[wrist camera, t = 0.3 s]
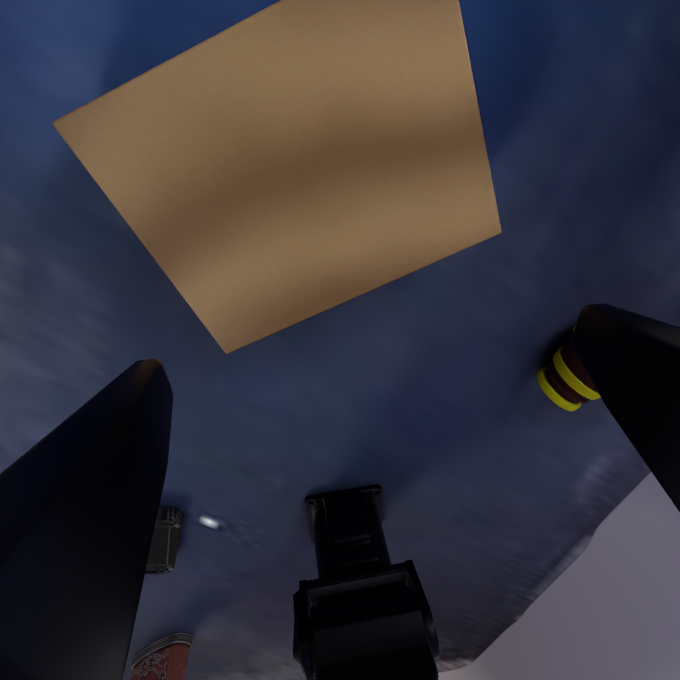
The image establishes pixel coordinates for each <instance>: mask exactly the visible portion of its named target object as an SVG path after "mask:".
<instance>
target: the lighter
mask: <svg viewBox="0 0 680 680" xmlns="http://www.w3.org/2000/svg"><path fill="white" fill-rule="evenodd" d="M191 643H192V636H191V635H189V634H187V633H174V634H171V635H169V636H166V637H164V638H162V639H160V640H158V641H156V642H154V643H152V644H150V645H149V646H147V647H146V648H145V649H143V650H142V651H140V652H139V653H138V654H137V655H136V656H135V657H134V659H133V663H132V670H133V673H132V678H131V680H185V677H186V669H187V661H188V652H189V649H190V648H191Z"/></svg>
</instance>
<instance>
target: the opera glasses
mask: <svg viewBox="0 0 680 680" xmlns="http://www.w3.org/2000/svg"><path fill="white" fill-rule="evenodd" d="M575 326H576V325H575ZM575 326H574V327H573V332H574V329H575ZM537 381H538V383H539V385H540V387H541V388H542V390H543V391H544V392H545V394H546V395H547V396H548V397H549V398H550V399H551V400H552V401H553V402H554V403H556V404H557V405H558V406H560V407H561V408H563V409H565V410H568V411H574V410H576V409H578V408H579V407H580V406H581V403H587V402H588V401H589V400H590V399H592V400H595V399H598V398H601V397H600V395H599V393H598V391H597V389H596V388H595V386H594V384H593V382H592V380H591V379H590V377H589V375H588V373H587V371H586V369H585V368H584V366H583V364H582V362H581V360H580V358H579V357H578V355H577V353H576V351H575V349H574V347H573V344H572V338H571V339H570V341H569V342H568V343H567V344H566V346H565V347H560V348H559V349H558V351H557V352H556V353H555V354H554V356H553V361H550V362H549V363H548V367H543V368H542V369H540V370H539V371H538V372H537Z"/></svg>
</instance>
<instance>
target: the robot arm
mask: <svg viewBox="0 0 680 680" xmlns="http://www.w3.org/2000/svg"><path fill="white" fill-rule="evenodd" d="M572 344H573V347H574V349H575V351H576V353H577V355H578V357H579V358H580V360H581V362H582V364H583V366H584V368H585V369H586V371H587V373H588V375H589V377H590V379H591V380H592V382H593V384H594V386H595V388H596V389H597V391H598V393H599V395H600V397H601V398H602V400H603V402H604V403H605V405H606V406H607V408H608V409H609V411H610V413H611V414H612V415H613V417H614V418H615V420H616V421H617V423H618V424H619V425H620V427H621V428H622V430H623V431H624V433H625V434H626V436H627V437H628V438H629V440H630V441H631V443H632V444H633V446H634V447H635V448H636V450H637V451H638V453H639V454H640V456H641V457H642V459H643V460H644V461H645V463H646V464H647V466H648V467H649V469H650V470H651V471H652V473H653V474H654V475H655V477H656V479H657V480H658V482H659V483H660V484H661V486H662V487H663V489H664V490H665V492H666V493H667V494H668V496H669V497H670V499H671V500H672V502H673V503H674V505H675V506H676V507H677V509H678V510H679V512H680V327H676V326H673V325H670V324H667V323H664V322H661V321H658V320H655V319H652V318H648V317H645V316H642V315H639V314H636V313H633V312H630V311H627V310H624V309H621V308H617V307H614V306H611V305H608V304H602V303H601V304H593V305H587V306H585V307H583V308H582V310H581V311H580V314H579V317H578V320H577V323H576V326H575V329H574V332H573V335H572ZM172 406H173V393H172V389H171V386H170V383H169V381H168V378H167V375H166V373H165V370H164V368H163V365H162V363H161V362H160V360H158V359H147V360H139V361H136V362H135V363H134V364H132V365H131V366H130V367H129V368H128V369H126V370H125V371H124V372H123V373H122V374H120V375H119V376H118V377H117V378H116V379H114V380H113V381H112V382H111V383H110V384H108V385H107V386H106V387H105V388H103V389H102V390H101V391H100V392H99V393H97V394H96V395H95V396H94V397H93V398H91V399H90V400H89V401H88V402H87V403H85V404H84V405H83V406H82V407H81V408H79V409H78V410H77V411H76V412H75V413H73V414H72V415H71V416H70V417H69V418H67V419H66V420H65V421H64V422H62V423H61V424H60V425H59V426H58V427H56V428H55V429H54V430H53V431H52V432H50V433H49V434H48V435H47V436H46V437H44V438H43V439H42V440H41V441H40V442H38V443H37V444H36V445H35V446H33V447H32V448H31V449H30V450H29V451H27V452H26V453H25V454H24V455H23V456H21V457H20V458H19V459H18V460H17V461H15V462H14V463H13V464H12V465H11V466H9V467H8V468H7V469H6V470H4V471H3V472H2V473H1V474H0V680H123V675H124V670H125V665H126V661H127V656H128V651H129V646H130V642H131V637H132V632H133V627H134V623H135V618H136V613H137V608H138V604H139V599H140V594H141V589H142V585H143V580H144V575H145V571H146V566H147V561H148V556H149V552H150V547H151V542H152V537H153V533H154V528H155V523H156V518H157V514H158V509H159V504H160V499H161V495H162V490H163V485H164V480H165V475H166V470H167V464H168V454H169V442H170V430H171V418H172ZM382 505H383V491H382V487H381V486H380V485H372V486H366V487H359V488H353V489H347V490H340V491H334V492H328V493H321V494H315V495H309V496H307V497H306V498H305V507H306V513H307V520H308V526H309V533H310V539H311V542H313V543H315V549H316V558H317V568H318V577H319V579H314V580H309V581H307V580H302V581H299V588H300V589H299V591H297V592H296V593H295V594H294V595H293V600H294V639H293V657H294V660H295V661H296V662H297V663H298V664H299V665H300V666H301V667H302V672H303V674H304V673H305V678H306V680H438V671H437V667H436V663H435V660H436V659H439V654H440V653H439V644H438V638H437V633H436V628H435V624H434V620H433V617H432V613H431V610H430V607H429V604H428V602H427V599H426V596H425V594H424V591H423V588H422V586H421V583H420V580H419V578H418V575H417V572H416V570H415V567H414V564H413V562H412V560H407V561H405V562H403V563H398V564H393V565H391V561H390V557H389V553H388V549H387V545H386V541H385V537H384V533H383V529H382Z"/></svg>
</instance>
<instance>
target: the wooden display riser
mask: <svg viewBox="0 0 680 680" xmlns="http://www.w3.org/2000/svg"><path fill="white" fill-rule="evenodd" d="M52 124H53V125H54V127H55V128H56V129H57V131H58V132H59V133H60V135H61V136H62V137H63V139H64V140H65V141H66V143H67V144H68V145H69V147H70V148H71V149H72V151H73V152H74V153H75V155H76V156H77V157H78V159H79V160H80V161H81V163H82V164H83V165H84V167H85V168H86V169H87V170H88V172H89V173H90V174H91V176H92V177H93V178H94V180H95V181H96V182H97V184H98V185H99V186H100V188H101V189H102V190H103V192H104V193H105V194H106V196H107V197H108V198H109V200H110V201H111V202H112V204H113V205H114V206H115V208H116V209H117V210H118V212H119V213H120V214H121V216H122V217H123V218H124V219H125V221H126V222H127V223H128V225H129V226H130V227H131V229H132V230H133V231H134V233H135V234H136V235H137V237H138V238H139V239H140V241H141V242H142V243H143V245H144V246H145V247H146V249H147V250H148V251H149V253H150V254H151V255H152V257H153V258H154V259H155V261H156V262H157V263H158V265H159V266H160V267H161V269H162V270H163V271H164V272H165V274H166V275H167V276H168V278H169V279H170V280H171V282H172V283H173V284H174V286H175V287H176V288H177V290H178V291H179V292H180V294H181V295H182V296H183V298H184V299H185V300H186V302H187V303H188V304H189V306H190V307H191V308H192V310H193V311H194V312H195V314H196V315H197V316H198V318H199V319H200V320H201V321H202V323H203V324H204V325H205V327H206V328H207V329H208V331H209V332H210V333H211V335H212V336H213V337H214V339H215V340H216V341H217V343H218V344H219V345H220V347H221V348H222V349H223V351H224V352H225V353H226V354H228V353H230V352H232V351H235V350H237V349H239V348H241V347H244V346H246V345H248V344H250V343H253V342H255V341H257V340H260V339H262V338H264V337H266V336H269V335H271V334H273V333H275V332H278V331H280V330H282V329H284V328H287V327H289V326H291V325H294V324H296V323H298V322H300V321H303V320H305V319H307V318H309V317H312V316H314V315H316V314H318V313H321V312H323V311H325V310H328V309H330V308H332V307H334V306H337V305H339V304H341V303H343V302H346V301H348V300H350V299H352V298H355V297H357V296H359V295H362V294H364V293H366V292H368V291H371V290H373V289H375V288H377V287H380V286H382V285H384V284H386V283H389V282H391V281H393V280H396V279H398V278H400V277H402V276H405V275H407V274H409V273H411V272H414V271H416V270H418V269H420V268H423V267H425V266H427V265H430V264H432V263H434V262H436V261H439V260H441V259H443V258H445V257H448V256H450V255H452V254H455V253H457V252H459V251H461V250H464V249H466V248H468V247H470V246H473V245H475V244H477V243H479V242H482V241H484V240H486V239H489V238H491V237H493V236H495V235H498V234H500V233H501V232H502V231H501V226H500V220H499V215H498V210H497V204H496V199H495V193H494V188H493V183H492V177H491V172H490V166H489V161H488V155H487V150H486V145H485V139H484V134H483V128H482V123H481V118H480V112H479V107H478V101H477V96H476V90H475V85H474V80H473V74H472V69H471V63H470V58H469V53H468V47H467V42H466V36H465V31H464V25H463V20H462V15H461V9H460V4H459V0H280V1H278V2H276V3H274V4H273V5H271V6H269V7H267V8H265V9H263V10H261V11H259V12H258V13H256V14H254V15H252V16H250V17H248V18H246V19H244V20H243V21H241V22H239V23H237V24H235V25H233V26H231V27H229V28H228V29H226V30H224V31H222V32H220V33H218V34H216V35H214V36H213V37H211V38H209V39H207V40H205V41H203V42H201V43H199V44H197V45H196V46H194V47H192V48H190V49H188V50H186V51H184V52H182V53H181V54H179V55H177V56H175V57H173V58H171V59H169V60H167V61H166V62H164V63H162V64H160V65H158V66H156V67H154V68H152V69H151V70H149V71H147V72H145V73H143V74H141V75H139V76H137V77H136V78H134V79H132V80H130V81H128V82H126V83H124V84H122V85H121V86H119V87H117V88H115V89H113V90H111V91H109V92H107V93H105V94H104V95H102V96H100V97H98V98H96V99H94V100H92V101H90V102H89V103H87V104H85V105H83V106H81V107H79V108H77V109H75V110H74V111H72V112H70V113H68V114H66V115H64V116H62V117H60V118H59V119H57V120H55V121H53V123H52Z"/></svg>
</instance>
